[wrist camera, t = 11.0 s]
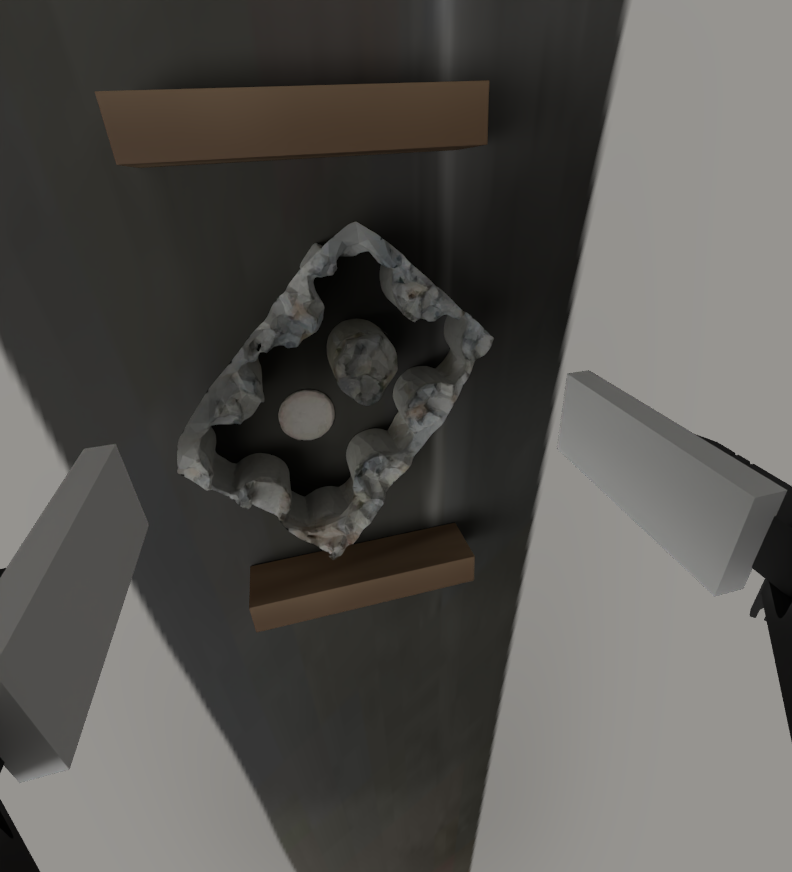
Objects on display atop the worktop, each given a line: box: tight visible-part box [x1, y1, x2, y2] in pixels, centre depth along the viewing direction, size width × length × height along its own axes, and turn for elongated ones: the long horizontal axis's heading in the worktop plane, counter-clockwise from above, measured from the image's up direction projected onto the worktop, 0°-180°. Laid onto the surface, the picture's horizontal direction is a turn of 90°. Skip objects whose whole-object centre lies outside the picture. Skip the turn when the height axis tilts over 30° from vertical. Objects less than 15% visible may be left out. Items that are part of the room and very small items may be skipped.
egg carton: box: [177, 222, 494, 560], centre depth 17 cm, size 11×8×4 cm
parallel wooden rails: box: [95, 81, 489, 632], centre depth 18 cm, size 19×10×2 cm, turn 3°
